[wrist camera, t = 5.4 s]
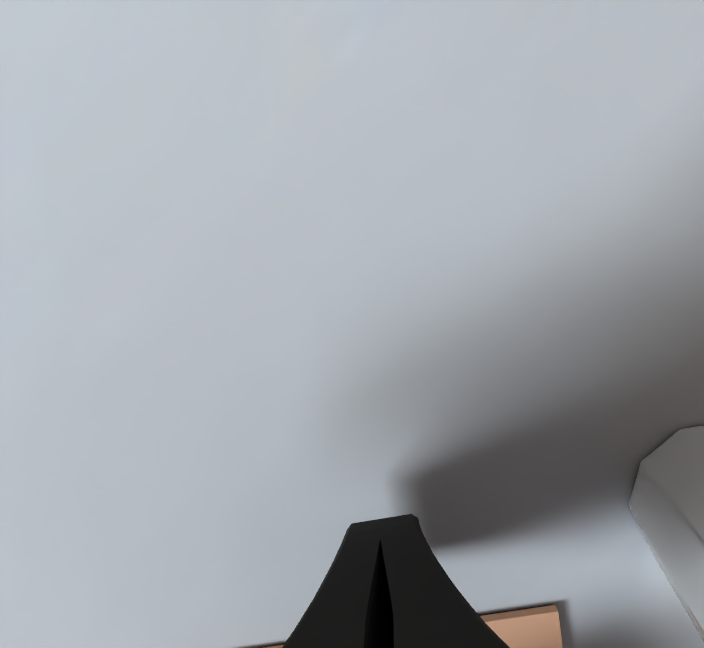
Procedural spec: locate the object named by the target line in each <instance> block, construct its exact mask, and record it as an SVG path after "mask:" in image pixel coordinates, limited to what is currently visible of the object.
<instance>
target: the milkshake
mask: <svg viewBox="0 0 704 648" xmlns="http://www.w3.org/2000/svg"><path fill="white" fill-rule="evenodd" d="M629 508H630V510H631V512H632V514H633V516H634V518H635V520H636V522H637V524H638V526H639V528H640V530H641V532H642V534H643V536H644V538H645V540H646V543H647V545H648V547H649V548H650V550H651V552H652V554H653V556H654V557H655V559H656V561H657V562H658V564H659V566H660V568H661V569H662V571H663V573H664V575H665V576H666V578H667V580H668V581H669V583H670V585H671V587H672V588H673V590H674V592H675V594H676V595H677V597H678V599H679V600H680V602H681V604H682V606H683V607H684V609H685V611H686V613H687V614H688V616H689V618H690V619H691V621H692V623H693V625H694V626H695V628H696V630H697V632H698V633H699V635H700V637H701V638H702V640H703V642H704V425H703V426H696V427H690V428H684V429H679V430H678V431H677V432H676V433H675V434H673V435H672V436H671V437H670V438H669V439H667V440H666V441H665V442H664V443H663V444H662V445H660V446H659V447H658V448H657V449H656V450H654V451H653V452H652V453H651V454H649V455H648V456H647V457H646V458H645V459H643V460H642V461H641V462H640V466H639V470H638V473H637V477H636V481H635V484H634V488H633V491H632V495H631V498H630V502H629Z"/></svg>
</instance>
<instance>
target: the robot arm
mask: <svg viewBox="0 0 704 648" xmlns="http://www.w3.org/2000/svg"><path fill="white" fill-rule="evenodd" d="M282 648H510V647H509V646H508V645H507V644H506V643H505V642H504V641H503V640H502V639H501V638H500V637H499V636H498V635H497V634H496V633H495V632H494V631H493V630H492V629H491V628H490V627H489V626H488V625H487V624H486V623H485V622H484V621H483V619H482V618H481V617H480V616H479V615H478V614H477V613H476V612H475V610H474V609H473V608H472V607H471V606H470V604H469V603H468V602H467V601H466V599H465V598H464V597H463V596H462V594H461V593H460V592H459V591H458V589H457V588H456V587H455V585H454V584H453V583H452V581H451V580H450V578H449V577H448V575H447V574H446V572H445V571H444V569H443V568H442V566H441V565H440V563H439V562H438V560H437V559H436V557H435V556H434V554H433V552H432V550H431V549H430V547H429V545H428V543H427V541H426V539H425V537H424V535H423V533H422V530H421V528H420V525H419V520H418V518H417V517H415V516H414V515H413V514H408V515H402V516H396V517H390V518H384V519H377V520H371V521H365V522H359V523H353V524H351V525H350V527H349V528H348V529H347V531H346V534H345V536H344V539H343V541H342V544H341V546H340V548H339V550H338V552H337V555H336V557H335V559H334V561H333V563H332V565H331V567H330V569H329V571H328V573H327V575H326V577H325V579H324V580H323V582H322V584H321V586H320V588H319V590H318V592H317V593H316V595H315V597H314V599H313V600H312V602H311V604H310V605H309V607H308V609H307V610H306V612H305V613H304V615H303V617H302V618H301V620H300V622H299V623H298V625H297V626H296V628H295V629H294V631H293V632H292V634H291V635H290V637H289V638H288V640H287V641H286V643H285V644H284V645H283V647H282Z"/></svg>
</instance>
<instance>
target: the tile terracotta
mask: <svg viewBox="0 0 704 648" xmlns="http://www.w3.org/2000/svg"><path fill="white" fill-rule="evenodd" d="M480 617H481V618H482V619H483V621H484V622H485V623H486V624H487V625H488V626H489V627H490V628H491V629H492V630H493V631H494V632H495V633H496V634H497V635H498V636H499V637H500V638H501V639H502V640H503V641H504V642H505V643H506V644H507V645H508V646H509V647H510V648H563V645H562V638H561V630H560V622H559V614H558V610H557V607H556V605H551V606H544V607H537V608H530V609H524V610H517V611H510V612H503V613H496V614H490V615H483V616H480ZM282 647H283V645H278V646H272V647H265V648H282Z"/></svg>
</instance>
